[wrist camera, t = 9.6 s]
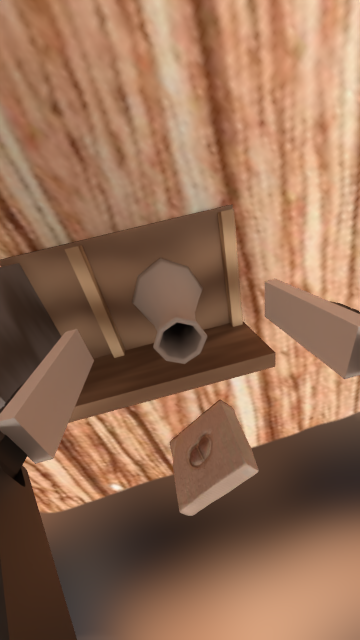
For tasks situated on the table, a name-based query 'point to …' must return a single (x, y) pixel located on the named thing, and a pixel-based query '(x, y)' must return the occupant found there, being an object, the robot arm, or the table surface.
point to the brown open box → (127, 312)
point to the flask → (171, 309)
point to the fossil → (210, 458)
